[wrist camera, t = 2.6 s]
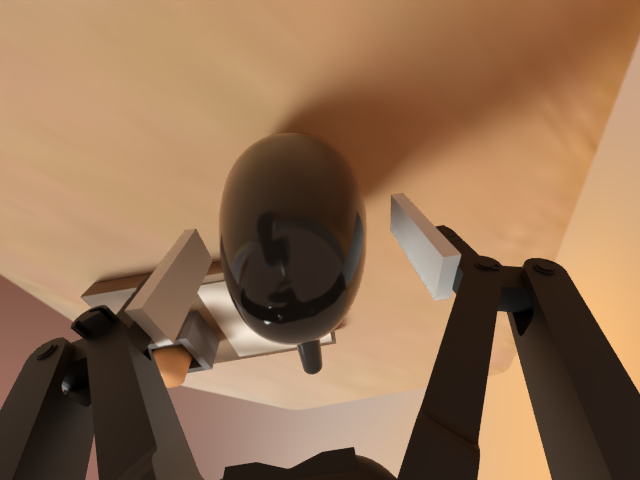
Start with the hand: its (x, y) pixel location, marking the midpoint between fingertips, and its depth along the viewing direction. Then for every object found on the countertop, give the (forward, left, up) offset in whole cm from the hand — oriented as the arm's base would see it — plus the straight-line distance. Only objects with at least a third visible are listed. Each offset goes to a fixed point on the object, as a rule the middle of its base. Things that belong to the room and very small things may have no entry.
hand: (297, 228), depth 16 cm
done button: (+15, -17, -2) cm, 23 cm away
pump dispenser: (0, 0, -7) cm, 7 cm away
